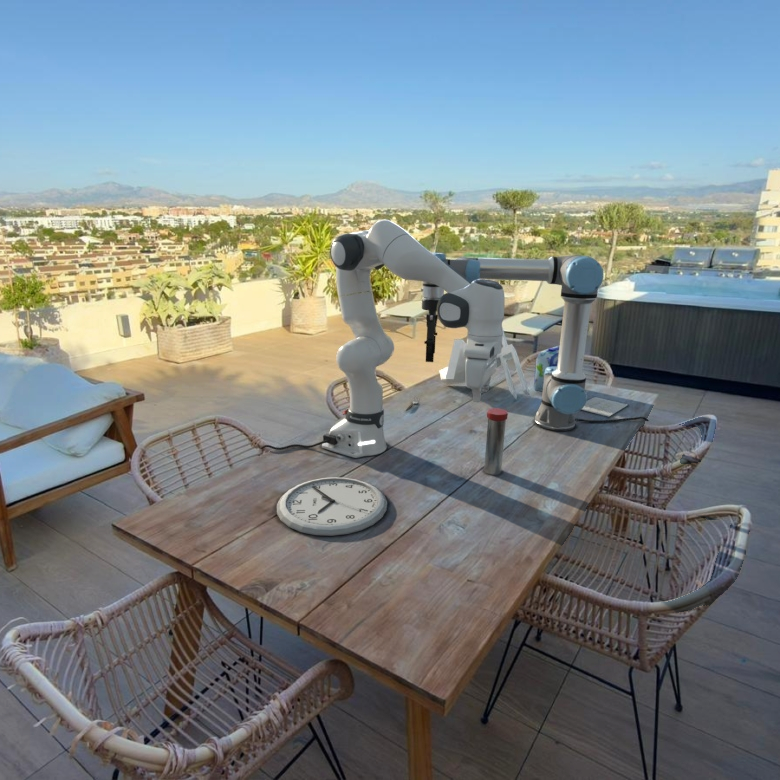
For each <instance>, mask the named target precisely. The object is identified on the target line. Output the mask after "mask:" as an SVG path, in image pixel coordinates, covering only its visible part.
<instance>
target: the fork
mask: <svg viewBox="0 0 780 780" xmlns="http://www.w3.org/2000/svg"><path fill="white" fill-rule="evenodd" d="M420 399H421V397H420V396H415V397H414V398H413V400H412V404H410V405H408V407H407V408H406V410H405V411H409V410H411V409H412V408H413V406H414V405H415V404H419V402H420Z"/></svg>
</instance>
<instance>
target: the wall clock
mask: <svg viewBox="0 0 780 780" xmlns="http://www.w3.org/2000/svg"><path fill="white" fill-rule="evenodd" d="M387 509H388V500H387V498H386V496H385V494H384V493H383V492H382V491H381V490H380V489H379V488H377V487H376V486H374V485H372V484H371V483H369V482H365V481H362V480H359V479H355V478H349V477H338V476H337V477H335V476H333V477H332V476H331V477H322V478H317V479H312V480H307V481H305V482H302V483H299V484H297V485H295V486H293V487H292V488H290V489H288V490H287V491H286V492H285V493H284V494H283V495H281V496H280V498H279V499H278V502H277V503H276V515H277V517H278V518H279V520H280V521H281V522H282V523H283V524H285V525H286V526H287V527H288V528H290V529H293V530H295V531H297V532H299V533H303V534H308V535H312V536H327V537H328V536H329V537H331V536H332V537H333V536H342V535H350V534H352V533H356V532H361V531H363V530H366V529H368V528H369V527H372V526H373V525H375V524H376V523H378V522H379V521H380V520H381V519H382V518H383V517H384V516H385V514H386V512H387Z"/></svg>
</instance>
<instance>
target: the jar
mask: <svg viewBox="0 0 780 780" xmlns="http://www.w3.org/2000/svg"><path fill="white" fill-rule="evenodd" d="M506 422H507V419H506V420H504V421H494V420H490V419H488V418H487V428H486V442H485V455H484V467H483V468H484V469H483V470H484V471H483V472H484V473H486V474H487V475H490V476H498V475H501V473H502V466H503V455H504V443H505V434H506V433H505V432H506Z"/></svg>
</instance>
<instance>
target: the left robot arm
mask: <svg viewBox="0 0 780 780" xmlns="http://www.w3.org/2000/svg"><path fill="white" fill-rule="evenodd" d="M433 253H434V252H431V251H430V250H428V249H427V248H426V247H425V246H423V244H421V243H420V242H419V241H418V240H417V239H416V238H415V237H413V236H412V235H411V234H410V233H409V232H408V231H407V230H405V229H404V228H402V227H401V226H400V225H398V224H397V223H395V222H393V221H391V220H389V219H381V220H378V221H376V222H375V223H373V224H372V225H371V227H370V228H369V230H360V231H355V232H350V233H342V234H341V235H338V236H335V237H334V239H332V241H331V244H330V247H329V255H330V258H331V261H332V263H333V265H334V266H335V267H336V269H335V282H336V291H337V297H338V302H339V307H340V312H341V317H342V321H343V322H344V323H345V324H346V325H347V326H348V327H349V328H350V329H351V331H352V334H353V336H354V339H351V340H348V341H347V342H345V343H344V344H343V345H342V346H341V347H339V348H338V350H337V353H336V355H335V359H336V360H335V361H336V365H337V366H338V369H340V371H341V372H342V373H344V375H345V377H346V380H347V384H348V388H349V389H348V390H349V405H348V407H346V408H345V410H344V411H342V415H343V416H344V415H345V416H344V418H342V419H341V420H339V421H338V422H336V423H334V424H333V425H332V426H331V428H330V430H329V432H328V433H327V432H326V433H325V434H323V435H322V441H319V442H316V443H313V444H309V445H306V444H305V445H304V444H296V443H295V444H294V443H293V444H290V445H286V446H281V447H276V446H274V445H271V444H264V445H262V446H261V447H260V450H263V449H265V448H270V449H273V450H276V451H281V450H286V449H289V448H294V447H299V448H306V449H310V448H314V447H317V446H320V445H321V448H322V449H324V450H327V451H331V452H334V453H336V454H341V455H343V456H347V457H350V458H354V459H359V458H362V457H369V456H377V455H380V454H382V453H384V452H385V451H386V450H387V448H388V445H387V443H386V439H385V432H384V424H385V409H384V407H383V406H384V405H383V403H384V401H383V400H384V387H383V385H382V384H381V383H380V382H379V381H378V377H377V371H376V370H377V367H379V366H382V365H383V364H384V365H385V363H387V361H389V360H390V359H391V357H392V356H393V355H394V352H395V344H394V341H393V339H392V338H391V337H390V336H389V335H388V334H387V333H386V332H385V330H384V327H383V326H382V323H381V322H380V319H379V315H378V313H377V308H376V303H375V297H374V292H373V288H372V287H373V286H372V283H371V272H372V271H373V269H374V270H377V271H379V270H380V269H382V268H383V267H386V268H387V270H389V271H390V272H391V273H392V274H393V275H395V276H396V277H398V278H400V279H402V280H405V281H406V280H407V281H417V282H423V281H424V282H429V283H433V284H435V285H437V286H439V287H441V288H442V289H443V290H444V292H445V293H444V295H442V296H441V298H440V299H439V301H438V304H437V312H436V314H437V316H438V320H439V322H440V323H441V324H442V325H443V326H444V327H445V328H447V329H461V328H465V329H466V330H467V333H466V334H467V336H466V337H467V338H466V344H467V345H466V347H465V349H464V357H467V358H466V383H465V385H466V388H467V389H471V393H472V402H474V403H481V400H482V393H488V392H489V390H490V385H491V381H492V376H493V375H494V374H495V372H496V371H497V368H498V367H497V354H500V353H501V350H502V348H503V345H502V337H503V331H504V330H503V331H502V327H503V321H504V318H505V307H506V305H505V304H506V303H505V302H506V300H505V290H504V287H503V285H502V284H500V282H497V281H496V280H495V281H494V280H493V279H478V280H475V281H473V282H470V281H469V280H468V279H466V278H465V277H464V276H462V275H461V274H460V273H459V272H457V271H456V270H455V269H453V268H452V267H451V266H450V265H448V264H447V263H445V262H444V261H442V260H441V259H440V258H438V257H437V256H435V255H434V254H433Z"/></svg>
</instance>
